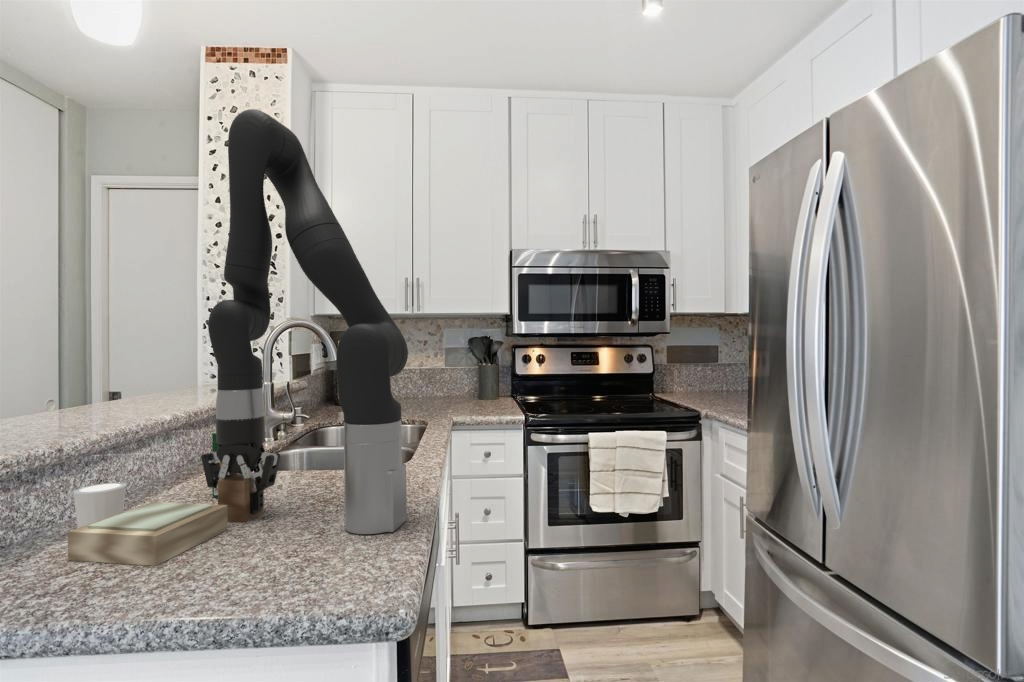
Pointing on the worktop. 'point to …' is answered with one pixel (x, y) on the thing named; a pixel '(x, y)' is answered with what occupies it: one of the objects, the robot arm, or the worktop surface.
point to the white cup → (98, 502)
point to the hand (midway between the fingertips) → (241, 511)
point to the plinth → (147, 533)
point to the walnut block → (236, 498)
